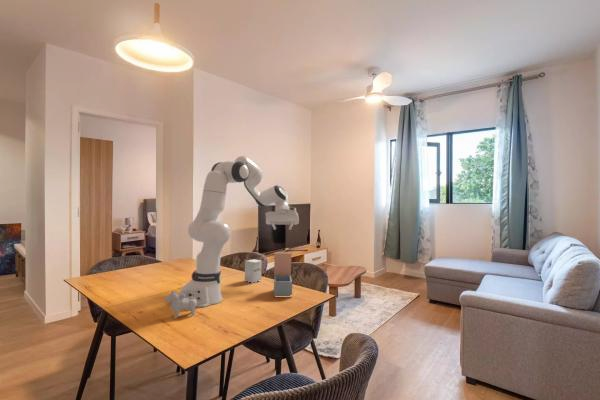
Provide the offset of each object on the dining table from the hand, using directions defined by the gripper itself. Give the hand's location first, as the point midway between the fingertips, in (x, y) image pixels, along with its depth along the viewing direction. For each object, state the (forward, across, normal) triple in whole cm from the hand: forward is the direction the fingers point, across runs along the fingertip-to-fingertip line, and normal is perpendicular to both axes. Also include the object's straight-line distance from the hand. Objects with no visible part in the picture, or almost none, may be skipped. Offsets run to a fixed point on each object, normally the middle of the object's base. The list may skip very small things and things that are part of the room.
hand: (282, 229), depth 179 cm
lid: (+23, 0, +2) cm, 23 cm away
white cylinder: (+20, -18, +26) cm, 37 cm away
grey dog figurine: (+57, -44, -13) cm, 73 cm away
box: (+37, 0, +8) cm, 38 cm away
